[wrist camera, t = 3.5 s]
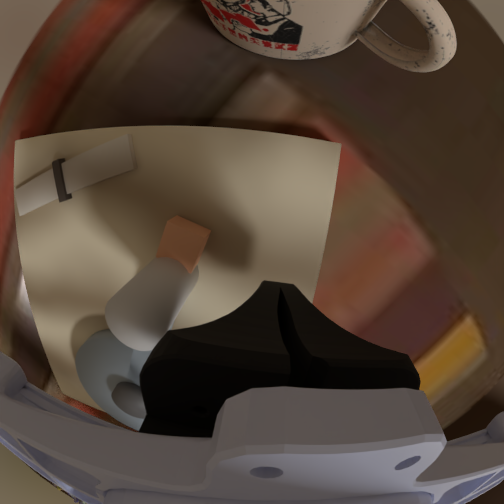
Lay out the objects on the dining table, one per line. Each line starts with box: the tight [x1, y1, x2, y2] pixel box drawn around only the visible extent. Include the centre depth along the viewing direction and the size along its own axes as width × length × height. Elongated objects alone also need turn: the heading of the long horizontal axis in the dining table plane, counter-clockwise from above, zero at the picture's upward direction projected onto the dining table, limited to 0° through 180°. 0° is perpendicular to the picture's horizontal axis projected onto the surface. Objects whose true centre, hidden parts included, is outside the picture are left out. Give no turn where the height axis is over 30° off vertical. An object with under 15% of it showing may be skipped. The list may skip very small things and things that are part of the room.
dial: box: [75, 215, 211, 431], centre depth 13 cm, size 18×10×5 cm, turn 156°
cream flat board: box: [14, 126, 341, 412], centre depth 15 cm, size 23×20×2 cm
